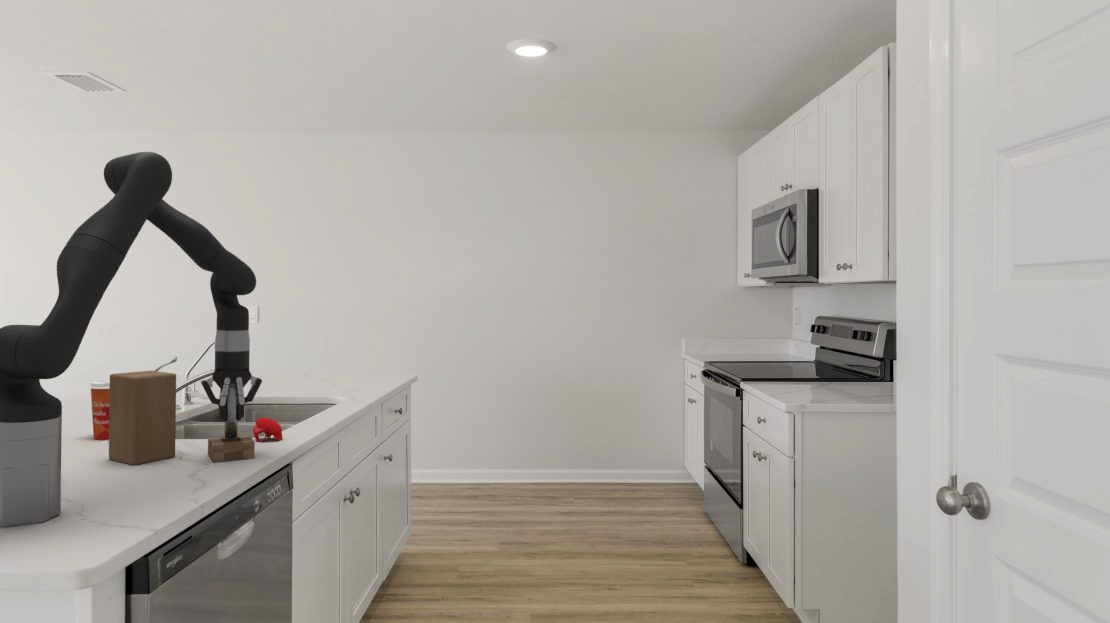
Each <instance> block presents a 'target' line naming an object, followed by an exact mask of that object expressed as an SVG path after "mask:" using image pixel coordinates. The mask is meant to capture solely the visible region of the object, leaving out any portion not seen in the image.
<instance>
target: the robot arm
mask: <svg viewBox="0 0 1110 623" xmlns="http://www.w3.org/2000/svg"><path fill="white" fill-rule="evenodd" d="M172 170H173V169H172V168H171V164H170V163H169V161H168V160H167V159H166V158H165V157H164V156H163V155H161V154H160V153H157V152H153V151H140V152H134V153H130V154H126V155H122V156H121V155H120V156H118V157H115V158H113V159H111V160H109V161H108V162H107V163H106V164H105V166H104V168H103V178H104V179H103V180H104V182H105V184H106V186H107V187H108V190H110V191H111V192H112V193H113V194H114V196H113V197H112V198H111V199H110V200H109V201H108V202H107V203H106V204H105V205H104V206H102V207H101V208H99V209H98V210H97V211H96V212H95V213H93V214H92V215H91V216H89V217H88V218H87V219H86V220H85V221H84V222H83V223H82V224H80V225H79V226H78V228H76V230H75V231H74V232H73V233H72V235H71V236H70V238H69V239H68V240H67V242H66V244H65V246H64V247H63V248H62V250H61V252H60V254H59V256H58V258H57V260H56V261H57V262H56V277H57V278H56V279H57V285H58V295H57V299H56V302H55V304H54V305H53V307H52V308H51V311H50V312H49V314H48V316H47V317H46V318H45V319H44V321H42V323H41V324H40V325H36V324H35V325H34V324H9V325H5V326H3V327H0V526H1V528H2V527H3V528H4V527H10V526H19V525H25V524H33V523H34V524H35V523H42V522H47V521H49V520H50V519H51V518H55V517H57V516H58V515H60V514H61V511H62V508H61V507H62V430H63V429H62V428H63V422H62V421H63V420H62V418H63V416H62V415H63V404H62V401H61V400H60V399H59V398H57V397H56V396H54V395H52V394H50V393H49V392H47V391H46V389H44V387H43V386H42V385H41V382H40V380H51V379H54V378H57V377H60V376H61V375H63V374H64V373H65V372H66V371H67V370H68V368H69V367H70V365H71V364H72V363H73V361H74V359H75V357H76V355H77V354H78V351H79V348H80V346H81V344H82V343H83V339H84V336H85V334H86V332H87V329H88V327H89V325H90V322H91V320H92V318H93V315H94V313H95V311H96V310H97V308H98V306H99V304H100V302H101V300H102V298H103V297H104V295H105V293H106V291H107V290H108V287H109V285H110V283H111V282H112V281H113V279H114V277H115V276H116V274H117V272H118V271H119V269H120V267H121V266H122V264H123V262H124V261H125V259H126V257H127V254H128V252H129V250H130V248H131V247H132V245H133V243H134V242H135V240H136V239H137V237H138V235H139V234H140V232H141V230H142V229H143V226H144V224H145V223H146V221H148V222H149V223H151V224H152V225H154V226H155V227H156V228H157V229H159V230H160V231H161V232H162V233H163V234H165V235H167V237H168V238H169V239H171V240H172V241H173V242H174V243H175V244H176V245H177V246H178V247H179V248H180V249H181V250H182V251H183V252H184V253H185V254H186V255H187V256H188V257H189V259H191V260H192V262H194V264H196V266H197V267H199V268H200V269H202V270H203V271H207V272H210V273H212V274H211V277H210V280H209V287H210V288H209V289H210V293H211V297H212V300H213V301H212V302H213V304H214V307H215V311H216V327H215V328H216V331H215V332H216V333H215V340H214V372H213V373H212V375H211V377H209V378H207V379H202V380H201V381H200V385H201V386H202V388H203V390H204V393H206V396H207V397H208V399H209V401H210V403H211V404H214V405H217V406H218V419H219V420H221V421H222V422H225V421H226V406H225V403H226V397H227V394H228V390H229V384H230V380H235V381H236V384H237V387H236V389H237V391H238V421H241V420H242V419H243V418H244V416H245V405H246V403H251V402H253V401H254V398H255V396H256V394H257V393H258V390H259V388H261V387H260V386H261V384H262V382H263V379H261V378H260V377H255V376H253V375H252V373H251V370H250V353H251V352H250V350H251V349H250V345H251V341H250V340H251V339H250V338H251V337H250V333H249V332H250V330H249V329H250V311H249V309H248V308H247V307H246V306H244V305H242V304H241V303H240V301H239V299H238V296H246V295H249V294H251V293H253V291H254V290H255V288H256V286H257V277H256V275H255V272H254V271H253V270H252V268H251V267H250V265H248V263H245V262H244V261H243V260H241V259H240V258H239V257H238V256H236V255H235V254H233V253H232V252H230V251H229V250H227V248H225V247H224V246H223V244H222V243H221V242H220V241H219V240H218V239H217V238H216V237H215V236H214V234H213V233H212V232H211V231H210V230H208V228H207V227H206V226H204V225H203V224H202V223H201V222H199V221H197V220H196V219H193V218H192V217H190V216H188V215H186V214H185V213H183V212H182V211H179V210H178V209H176V208H175V207H173V206H172V205H170V204H169V203H167V202H166V201H165V200H164V199H163V198H164V197H165V196H166V194H167V193H168V191H169V190H170V187H171V186H172V181H173V171H172ZM249 381H250V385H251V387H250V388H249V391H248V393H247V394H246V396H245V392H244V388H245V386H246V385H247V384H248V383H249ZM213 382H214V383H215V384H216V385H217V386H218V388H219V389H220V390H219V397H218V398H216V396H215V394H214V392H213V390H212V388H213Z"/></svg>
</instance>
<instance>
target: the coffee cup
mask: <svg viewBox="0 0 1110 623" xmlns="http://www.w3.org/2000/svg"><path fill="white" fill-rule="evenodd" d="M88 387H89V389H90V396H91V397H90V399H91V415H92V430H93V438H94V439H93V440H97V441H109V398H110V379H103V380H96V381H91V383H90V386H88Z"/></svg>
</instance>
